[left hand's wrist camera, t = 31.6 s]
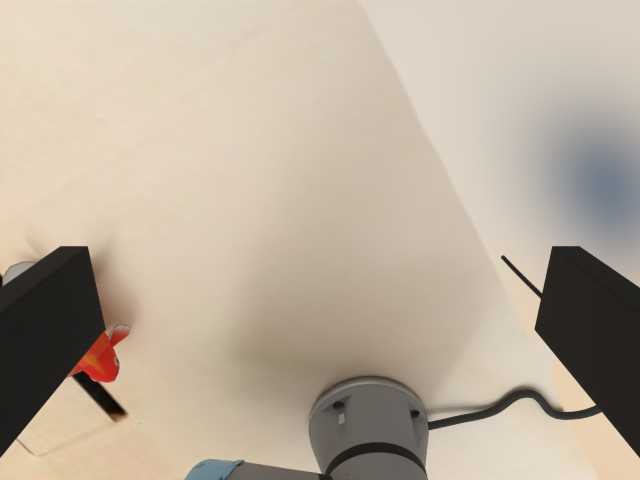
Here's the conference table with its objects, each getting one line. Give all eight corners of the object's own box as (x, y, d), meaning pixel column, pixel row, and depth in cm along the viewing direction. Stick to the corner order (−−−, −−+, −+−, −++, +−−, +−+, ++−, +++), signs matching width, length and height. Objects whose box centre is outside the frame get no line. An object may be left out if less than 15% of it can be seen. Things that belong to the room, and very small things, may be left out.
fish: (54, 404, 50) (6, 427, 40) (12, 278, 51) (-45, 270, 42) (147, 366, 52) (123, 378, 42) (104, 245, 53) (71, 231, 44)
